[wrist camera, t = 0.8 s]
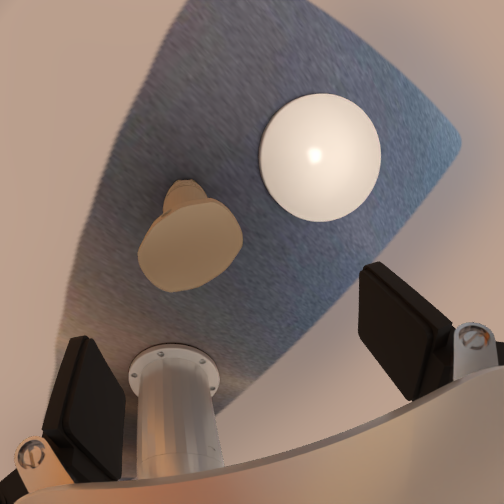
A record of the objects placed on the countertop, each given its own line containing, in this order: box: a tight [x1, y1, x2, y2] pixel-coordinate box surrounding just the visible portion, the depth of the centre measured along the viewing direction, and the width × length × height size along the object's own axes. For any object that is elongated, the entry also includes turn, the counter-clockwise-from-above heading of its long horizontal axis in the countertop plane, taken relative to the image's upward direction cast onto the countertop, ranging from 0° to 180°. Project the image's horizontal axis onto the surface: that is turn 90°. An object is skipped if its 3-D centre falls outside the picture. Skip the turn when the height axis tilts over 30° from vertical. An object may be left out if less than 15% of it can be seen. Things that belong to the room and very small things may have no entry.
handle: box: [138, 179, 243, 292], centre depth 26 cm, size 5×6×15 cm
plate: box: [258, 94, 381, 222], centre depth 33 cm, size 14×14×2 cm
